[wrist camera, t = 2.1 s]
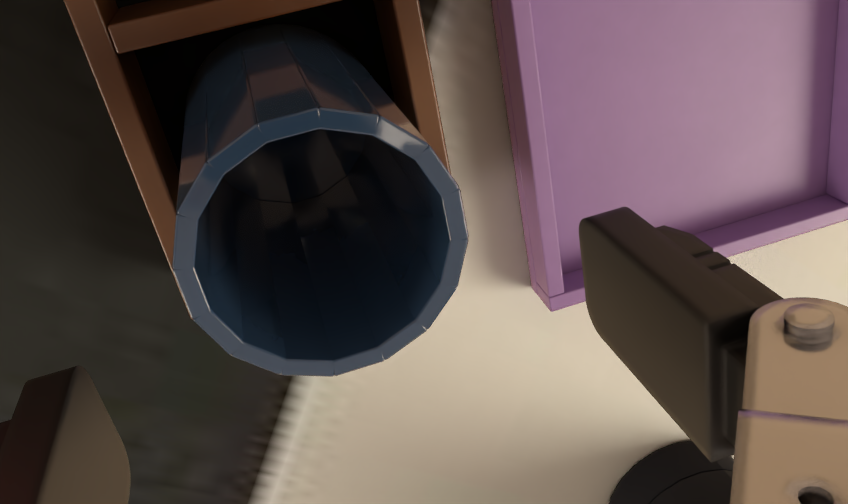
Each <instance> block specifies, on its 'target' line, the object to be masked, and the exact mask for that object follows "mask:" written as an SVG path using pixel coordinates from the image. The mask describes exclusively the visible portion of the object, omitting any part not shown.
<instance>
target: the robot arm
mask: <svg viewBox="0 0 848 504" xmlns="http://www.w3.org/2000/svg"><path fill="white" fill-rule="evenodd" d="M579 241H580V251H581V260H582V269H583V279H584V288H585V297H586V304H587V308H588V312H589V315H590V318H591V320H592V323H593V325H594V327H595V329H596V331H597V332H598V334H599V335H600V336H601V338H602V339H603V340H604V341H605V342H606V343H607V345H608V346H609V347H610V348H611V349H612V350H613V351H614V353H615V354H616V355H617V356H618V357H619V358H620V359H621V361H622V362H623V363H624V364H625V365H626V366H627V367H628V368H629V370H630V371H631V372H632V373H633V374H634V375H635V376H636V378H637V379H638V380H639V381H640V382H641V383H642V384H643V386H644V387H645V388H646V389H647V390H648V391H649V392H650V394H651V395H652V396H653V397H654V398H655V399H656V400H657V402H658V403H659V404H660V405H661V406H662V407H663V408H664V410H665V411H666V412H667V413H668V414H669V415H670V416H671V418H672V419H673V420H674V421H675V422H676V423H677V424H678V425H679V427H680V428H681V429H682V430H683V431H684V432H685V433H686V435H687V436H688V437H689V438H690V439H691V440H692V441H693V443H694V444H695V445H696V446H697V447H698V448H699V449H700V451H701V452H702V453H703V454H704V455H705V456H706V457H707V459H708V460H709V461H710V462H714V461H717V460H720V459H723V458H726V457H729V456H731V455H734V464H733V475H732V485H731V496H730V504H848V307H847V306H844V305H842V304H839V303H836V302H832V301H829V300H823V299H818V298H787V299H783V298H782V297H780V296H779V295H778V294H776V293H775V292H773V291H772V290H771V289H769V288H768V287H766V286H765V285H764V284H762V283H761V282H759V281H758V280H757V279H755V278H754V277H752V276H751V275H750V274H748V273H747V272H745V271H744V270H742V269H741V268H740V267H738V266H737V265H735V264H731V263H730V260H728V259H727V258H726V257H724V256H723V255H721V254H720V253H719V252H714V251H713V248H712V247H710V246H709V245H707V244H706V243H704V242H703V241H702V240H700V239H699V238H697V237H696V236H695V235H693V234H690V233H687V232H684V231H681V230H678V229H674V228H671V227H668V226H665V225H663V226H660V227H656V228H655V227H653V226H652V225H651V224H650V223H648V222H647V221H646V220H644V219H643V218H642V217H640V216H639V215H638V214H636V213H635V212H634V211H632V210H631V209H630V208H628V207H620V208H617V209H614V210H610V211H607V212H603V213H600V214H597V215H593V216H590V217H586V218H583V219H582V220H581V221H580V224H579ZM130 484H131V474H130V466H129V461H128V457H127V453H126V450H125V447H124V445H123V442H122V440H121V438H120V436H119V434H118V432H117V430H116V428H115V426H114V424H113V422H112V420H111V418H110V416H109V414H108V412H107V410H106V408H105V405H104V403H103V401H102V399H101V397H100V395H99V393H98V391H97V389H96V387H95V385H94V383H93V381H92V379H91V377H90V375H89V374H88V372H87V371H86V370H85V369H84V368H83V367H81V366H75V367H72V368H69V369H65V370H62V371H58V372H55V373H52V374H48V375H45V376H41V377H38V378H35V379H31V380H28V381H27V382H26V383H25V385H24V387H23V390H22V393H21V395H20V398H19V401H18V403H17V406H16V409H15V411H14V414H13V417H12V419H11V420H8V421H5V422H2V423H0V504H128V500H129V492H130Z"/></svg>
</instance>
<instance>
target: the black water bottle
mask: <svg viewBox="0 0 848 504" xmlns="http://www.w3.org/2000/svg"><path fill="white" fill-rule="evenodd" d="M733 464H734V459H733V458H732V457H731V456H729V457H726V458H723V459H720V460H717V461H714V462H710V461H709V460H708V459H707V457H706V456H705V455H704V454H703V453H702V452H701V451H700V449H699V448H698V447H697V446H696V445H695V444H694V443H693V441H689V442H680V443H675V444H673V445H670V446H667V447H665V448H662V449H659V450H657V451H655V452H653V453H652V454H650V455H649V456H647V457H646V458H644V459H643V460H641V461H640V462H638V463H637V464H636V465H635V466H634V467H633V468H632V469H631V470H630V471H629V472H628V473H627V474H626V475H625V476H624V477H623V478H622V479H621V481H620V482H619V484H618V486H617V488H616V489H615V491H614V493H613V494H612V496H611V499H610V503H609V504H730V496H731V485H732V475H733Z"/></svg>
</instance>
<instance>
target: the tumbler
mask: <svg viewBox="0 0 848 504" xmlns="http://www.w3.org/2000/svg"><path fill="white" fill-rule="evenodd" d="M467 244H468V230H467V225H466V219H465V213H464V208H463V202H462V197H461V191H460V189H459V186H458V184H457V183H456V181H455V180H454V179H453V177H452V176H451V174H450V173H449V171H448V170H447V169H446V167H445V166H444V164H443V163H442V161H441V160H440V159H439V157H438V156H437V154H436V153H435V151H434V150H433V149H432V147H431V146H430V145H429V143H428V142H427V141H426V140H425V139H424V138H423V136H422V135H421V134H420V133H419V132H418V130H417V129H416V128H415V127H414V126H413V125H412V123H411V122H410V121H409V120H408V119H407V118H406V116H405V115H404V114H403V113H402V112H401V110H400V109H399V108H398V107H397V106H396V105H395V103H394V102H393V101H392V100H391V99H390V98H389V96H388V95H387V94H386V93H385V92H384V90H383V89H382V88H381V87H380V86H379V85H378V83H377V82H376V81H375V80H374V79H373V78H372V76H371V75H370V74H369V73H368V72H367V70H366V69H365V68H364V67H363V66H362V65H361V63H360V62H359V61H358V60H357V59H356V57H355V56H354V55H353V54H352V53H351V52H350V51H348V50H347V49H345V48H344V47H343V46H342V45H340V44H339V43H338V42H336V41H335V40H333V39H332V38H330V37H328V36H326V35H324V34H323V33H321V32H318V31H316V30H313V29H310V28H307V27H303V26H298V25H291V24H268V25H262V26H257V27H253V28H250V29H247V30H244V31H242V32H240V33H238V34H236V35H233V36H232V37H230V38H229V39H227V40H226V41H224V42H223V43H221V44H220V45H219V46H218V47H217V48H215V49H214V50H213V51H212V52H211V53H210V54H209V56H208V57H207V58H206V59H205V60H204V61H203V63H202V64H201V66H200V68H199V69H198V71H197V72H196V75H195V77H194V79H193V81H192V83H191V86H190V89H189V91H188V94H187V99H186V110H185V121H184V132H183V143H182V154H181V165H180V176H179V186H178V197H177V208H176V220H175V233H174V247H173V260H172V268H173V273H174V276H175V278H176V281H177V283H178V286H179V288H180V291H181V293H182V296H183V298H184V301H185V303H186V306H187V308H188V311H189V313H190V316H191V317H192V318H193V320H194V321H195V322H196V323H197V324H198V325H199V326H200V327H201V328H202V329H203V330H204V331H205V332H206V333H207V334H208V335H209V336H210V337H211V338H212V339H213V340H215V341H216V342H217V343H218V344H219V345H220V346H221V347H222V348H223V349H224V350H225V351H226V352H227V353H228V354H230V355H232V356H233V357H235V358H238V359H240V360H243V361H245V362H248V363H251V364H253V365H256V366H258V367H261V368H263V369H266V370H268V371H271V372H274V373H276V374H281V375H293V376H337V375H341V374H344V373H347V372H350V371H353V370H357V369H360V368H363V367H366V366H370V365H373V364H376V363H379V362H382V361H384V359H385V360H386V359H388V358H390V357H391V356H392V355H394V354H395V353H396V352H398V351H399V350H401V349H402V348H403V347H405V346H406V345H408V344H409V343H410V342H412V341H413V340H415V339H416V338H417V337H419V336H420V335H421V334H423V333H424V332H426V331H427V329H429V327H430V326H431V325H432V323H433V322H434V320H435V319H436V317H437V316H438V315H439V313H440V312H441V310H442V309H443V307H444V306H445V304H446V303H447V302H448V300H449V299H450V297H451V296H452V294H453V293H454V291H455V290H456V287H457V286H458V282H459V278H460V273H461V269H462V265H463V261H464V256H465V252H466V248H467Z"/></svg>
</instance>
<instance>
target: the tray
mask: <svg viewBox="0 0 848 504" xmlns="http://www.w3.org/2000/svg"><path fill="white" fill-rule="evenodd" d="M491 3H492V10H493V17H494V24H495V31H496V38H497V46H498V53H499V60H500V67H501V74H502V81H503V88H504V95H505V102H506V109H507V116H508V123H509V130H510V137H511V144H512V152H513V159H514V166H515V173H516V180H517V187H518V194H519V201H520V208H521V215H522V222H523V229H524V236H525V243H526V250H527V257H528V265H529V272H530V279H531V286H532V289H533V290H534V291H535V293H536V294H537V295H538V296H539V297H540V299H541V300H542V301H543V302H544V304H545V305H546V306H547V307H548V309H549V310H550V311H555V310H559V309H562V308H565V307H568V306H572V305H575V304H578V303H581V302H584V301H586V297H585V288H584V279H583V269H582V260H581V251H580V241H579V224H580V221H581V220H582V219H583V218H586V217H590V216H593V215H597V214H600V213H603V212H607V211H610V210H614V209H617V208H620V207H628V208H630V209H631V210H632V211H634V212H635V213H636V214H638V215H639V216H640V217H642V218H643V219H644V220H646V221H647V222H648V223H650V224H651V225H652V226H653V227H655V228H656V227H660V226H663V225H665V226H668V227H671V228H674V229H678V230H681V231H684V232H687V233H690V234H693V235H695V236H696V237H697V238H699V239H700V240H702V241H703V242H704V243H706V244H707V245H709V246H710V247H712V248H713V251H714V252H719V253H720V254H721V255H723V256H724V257H729V256H732V255H736V254H739V253H742V252H745V251H749V250H752V249H755V248H758V247H761V246H765V245H768V244H771V243H774V242H778V241H781V240H784V239H787V238H790V237H794V236H797V235H800V234H803V233H807V232H810V231H813V230H816V229H819V228H823V227H826V226H829V225H832V224H835V223H839V222H842V221H845V220H848V0H491Z"/></svg>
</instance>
